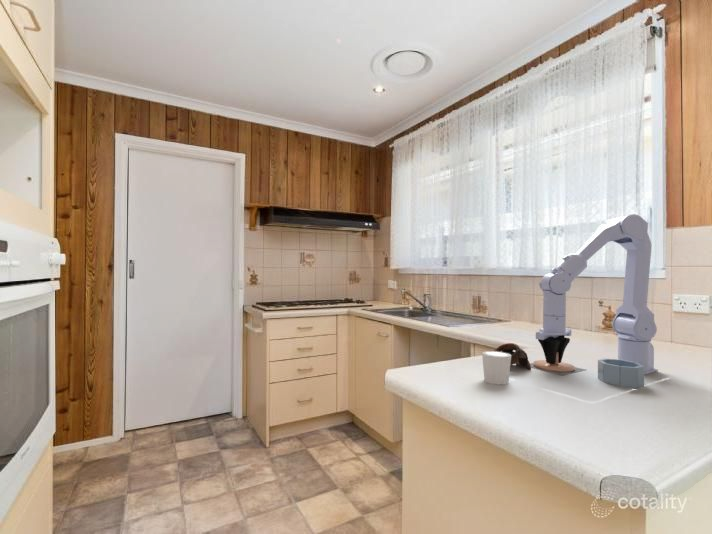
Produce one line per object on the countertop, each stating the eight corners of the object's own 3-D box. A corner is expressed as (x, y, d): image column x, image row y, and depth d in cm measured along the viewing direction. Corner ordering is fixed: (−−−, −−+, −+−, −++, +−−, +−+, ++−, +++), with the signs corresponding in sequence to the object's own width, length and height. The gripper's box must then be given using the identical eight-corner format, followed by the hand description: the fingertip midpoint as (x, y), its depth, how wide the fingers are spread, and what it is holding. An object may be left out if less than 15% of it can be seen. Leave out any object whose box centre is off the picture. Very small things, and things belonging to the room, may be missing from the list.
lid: (546, 361, 113) (546, 346, 113) (582, 369, 104) (582, 353, 104) (525, 365, 107) (526, 350, 107) (561, 374, 98) (561, 357, 98)
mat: (545, 361, 114) (545, 360, 114) (586, 371, 104) (586, 369, 104) (521, 366, 108) (521, 365, 108) (562, 377, 97) (562, 375, 97)
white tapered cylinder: (515, 381, 93) (515, 353, 93) (504, 387, 88) (505, 358, 88) (488, 375, 97) (488, 349, 98) (477, 381, 92) (477, 353, 92)
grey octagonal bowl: (609, 376, 99) (609, 357, 99) (648, 385, 91) (649, 364, 91) (592, 380, 94) (592, 361, 94) (632, 390, 87) (632, 369, 87)
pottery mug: (539, 376, 100) (528, 350, 98) (506, 389, 102) (494, 364, 100) (522, 354, 112) (512, 332, 110) (493, 366, 113) (482, 344, 112)
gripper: (555, 312, 113) (554, 357, 113) (525, 314, 105) (525, 362, 105) (578, 315, 107) (578, 362, 107) (549, 317, 99) (549, 368, 99)
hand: (553, 362), depth 106 cm, fingers closed on lid, 2 cm apart
